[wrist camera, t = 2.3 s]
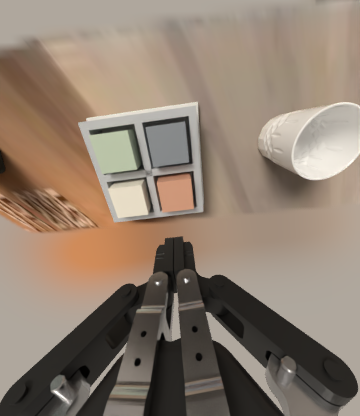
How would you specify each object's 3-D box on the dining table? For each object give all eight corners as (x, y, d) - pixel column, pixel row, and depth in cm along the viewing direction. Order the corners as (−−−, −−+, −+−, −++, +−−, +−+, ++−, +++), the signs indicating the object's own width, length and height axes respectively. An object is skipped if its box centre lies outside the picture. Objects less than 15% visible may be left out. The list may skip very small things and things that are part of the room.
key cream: (145, 178, 26) (141, 185, 23) (151, 205, 28) (148, 214, 25) (115, 181, 26) (107, 189, 23) (124, 208, 28) (117, 218, 25)
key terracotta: (189, 172, 25) (190, 178, 23) (192, 199, 28) (193, 208, 25) (159, 176, 26) (156, 182, 23) (164, 203, 28) (162, 212, 25)
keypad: (196, 102, 24) (201, 97, 20) (203, 202, 32) (207, 215, 27) (89, 118, 25) (70, 117, 20) (120, 212, 32) (111, 226, 28)
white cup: (310, 109, 25) (386, 101, 16) (295, 162, 28) (349, 179, 19) (259, 110, 25) (305, 102, 16) (250, 163, 28) (283, 181, 19)
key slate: (183, 121, 22) (185, 121, 19) (187, 157, 24) (189, 162, 22) (149, 126, 22) (145, 127, 20) (156, 161, 25) (153, 167, 22)
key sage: (133, 129, 23) (127, 130, 20) (141, 164, 25) (137, 169, 22) (100, 134, 23) (88, 135, 20) (111, 168, 25) (102, 173, 22)
